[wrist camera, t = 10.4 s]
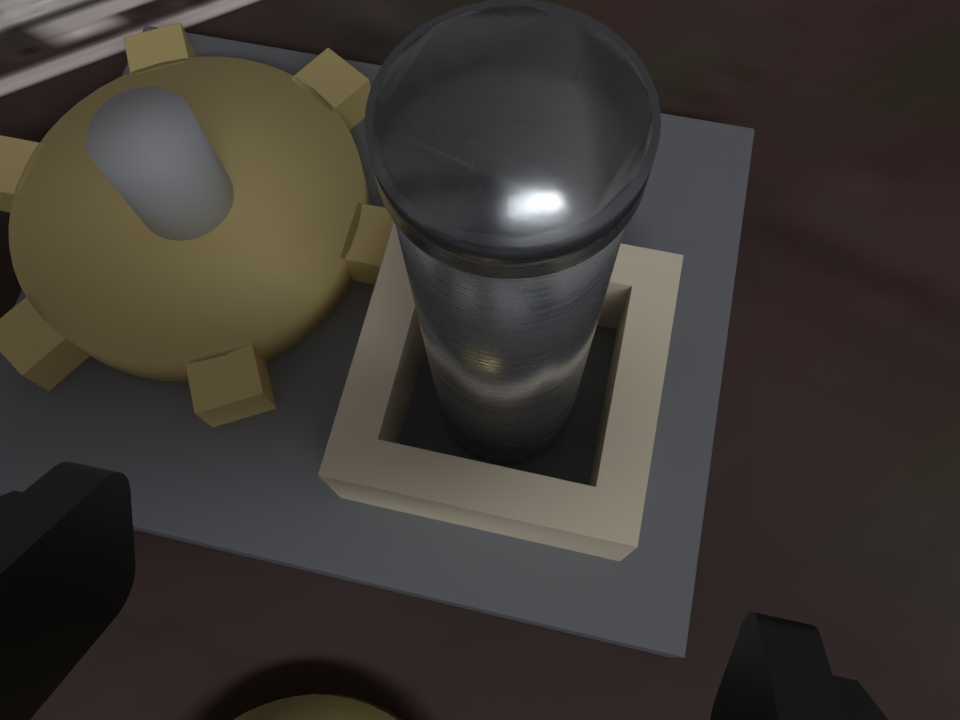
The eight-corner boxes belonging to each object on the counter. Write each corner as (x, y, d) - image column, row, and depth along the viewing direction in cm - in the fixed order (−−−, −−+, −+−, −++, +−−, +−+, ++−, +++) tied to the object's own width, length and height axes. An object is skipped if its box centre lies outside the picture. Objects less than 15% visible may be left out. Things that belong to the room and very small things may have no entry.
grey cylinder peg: (420, 452, 19) (328, 214, 9) (454, 324, 20) (406, -21, 10) (561, 483, 19) (636, 272, 8) (587, 351, 20) (681, 23, 10)
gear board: (-85, 477, 21) (-282, 417, 16) (116, 54, 26) (16, -102, 20) (669, 657, 19) (735, 657, 14) (738, 162, 24) (806, 20, 18)
